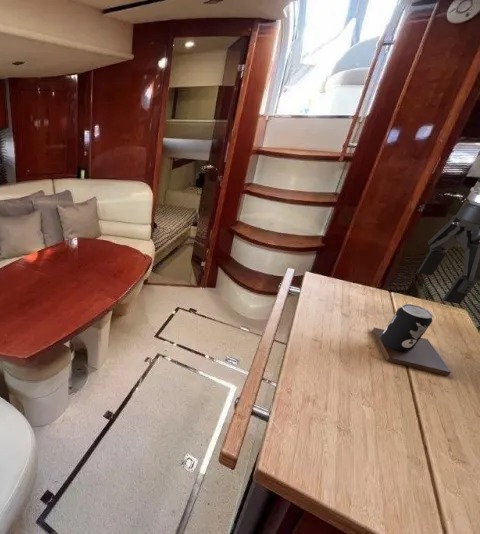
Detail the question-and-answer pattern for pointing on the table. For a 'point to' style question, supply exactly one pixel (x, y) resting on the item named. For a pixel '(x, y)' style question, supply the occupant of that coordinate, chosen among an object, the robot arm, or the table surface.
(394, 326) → the beverage can
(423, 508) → the table surface
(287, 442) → the table surface
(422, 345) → the walnut board
